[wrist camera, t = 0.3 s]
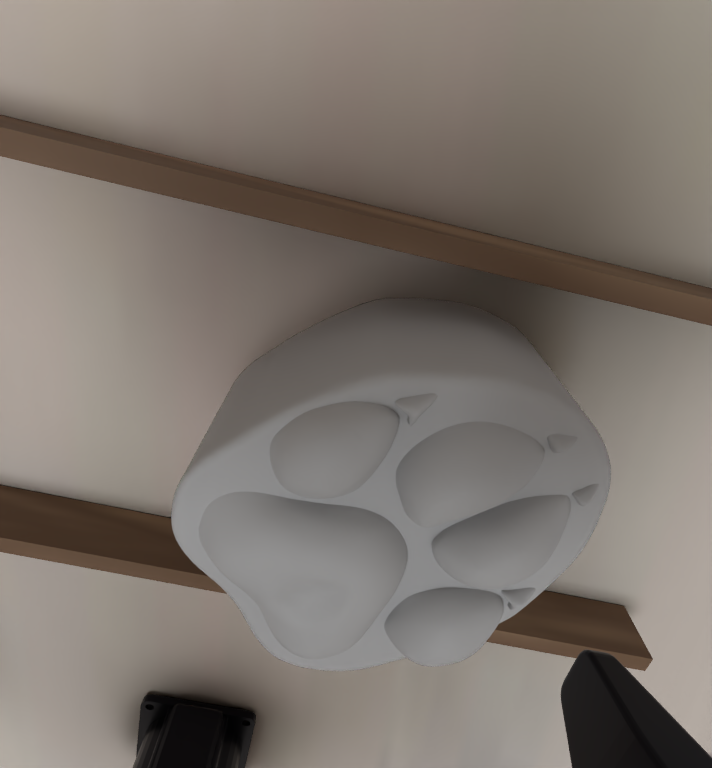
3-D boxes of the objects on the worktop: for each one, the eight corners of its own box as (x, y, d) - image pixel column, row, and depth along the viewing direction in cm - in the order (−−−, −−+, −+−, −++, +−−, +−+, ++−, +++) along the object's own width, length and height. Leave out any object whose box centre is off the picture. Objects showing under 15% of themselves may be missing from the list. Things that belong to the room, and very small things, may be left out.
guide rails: (616, 618, 27) (654, 693, 23) (-233, 455, 24) (-340, 512, 20) (806, 308, 20) (902, 346, 16) (-358, 24, 17) (-555, -7, 13)
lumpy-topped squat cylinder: (195, 384, 22) (100, 521, 14) (487, 236, 19) (567, 304, 11) (318, 556, 26) (296, 738, 18) (577, 453, 23) (684, 616, 15)
